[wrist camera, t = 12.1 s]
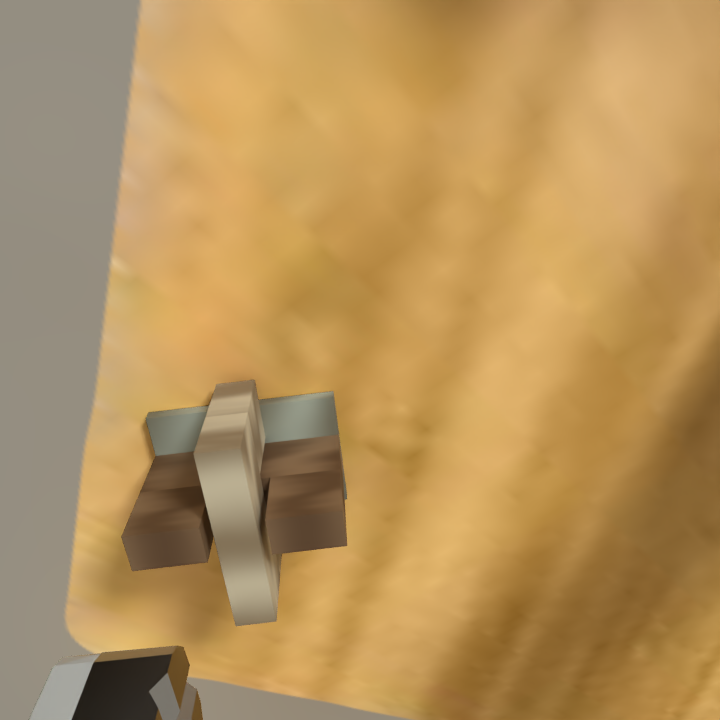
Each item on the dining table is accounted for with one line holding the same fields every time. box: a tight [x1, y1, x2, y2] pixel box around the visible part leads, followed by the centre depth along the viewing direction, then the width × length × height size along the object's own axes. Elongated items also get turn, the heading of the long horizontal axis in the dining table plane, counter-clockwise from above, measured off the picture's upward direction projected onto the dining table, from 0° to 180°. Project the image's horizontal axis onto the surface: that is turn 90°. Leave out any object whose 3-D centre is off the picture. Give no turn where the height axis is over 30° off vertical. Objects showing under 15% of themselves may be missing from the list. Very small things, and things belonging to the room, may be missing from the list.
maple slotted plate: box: [194, 380, 282, 626], centre depth 39 cm, size 12×2×8 cm, turn 6°
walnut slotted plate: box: [121, 391, 347, 571], centre depth 39 cm, size 12×8×9 cm, turn 96°
